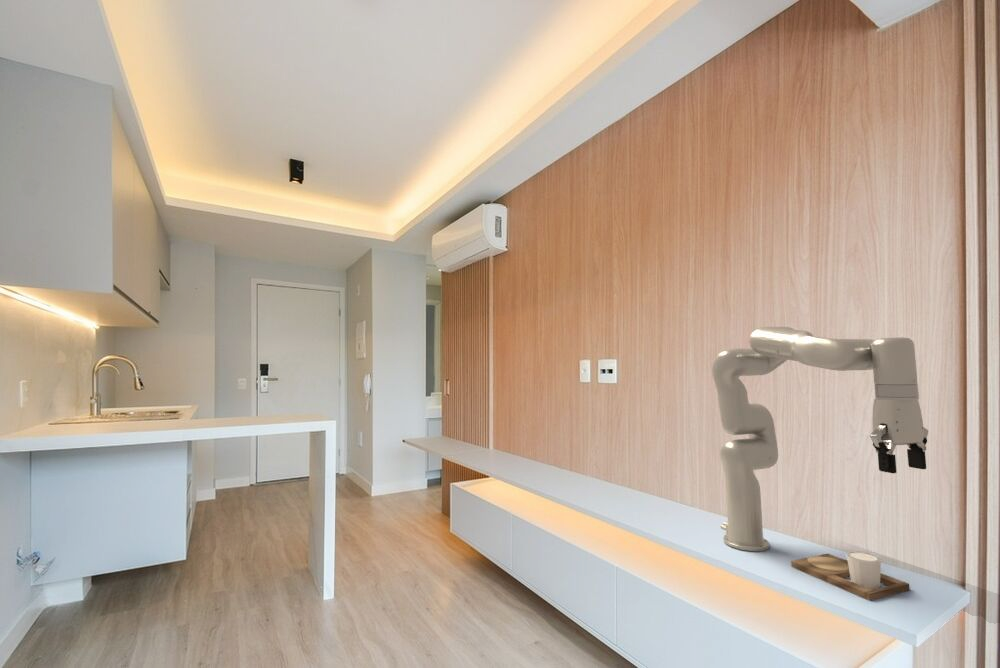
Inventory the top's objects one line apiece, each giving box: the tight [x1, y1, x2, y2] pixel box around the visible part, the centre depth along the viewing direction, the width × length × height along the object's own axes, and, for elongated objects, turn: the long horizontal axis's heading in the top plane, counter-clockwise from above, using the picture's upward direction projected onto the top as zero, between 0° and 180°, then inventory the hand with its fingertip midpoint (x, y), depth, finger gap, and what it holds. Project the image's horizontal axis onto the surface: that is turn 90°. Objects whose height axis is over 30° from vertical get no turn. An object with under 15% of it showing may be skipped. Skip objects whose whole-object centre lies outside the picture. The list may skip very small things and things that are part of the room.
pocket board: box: [790, 553, 911, 601], centre depth 121 cm, size 20×14×2 cm
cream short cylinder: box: [845, 551, 882, 590], centre depth 116 cm, size 7×7×7 cm
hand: (902, 470), depth 104 cm, fingers open, 9 cm apart
